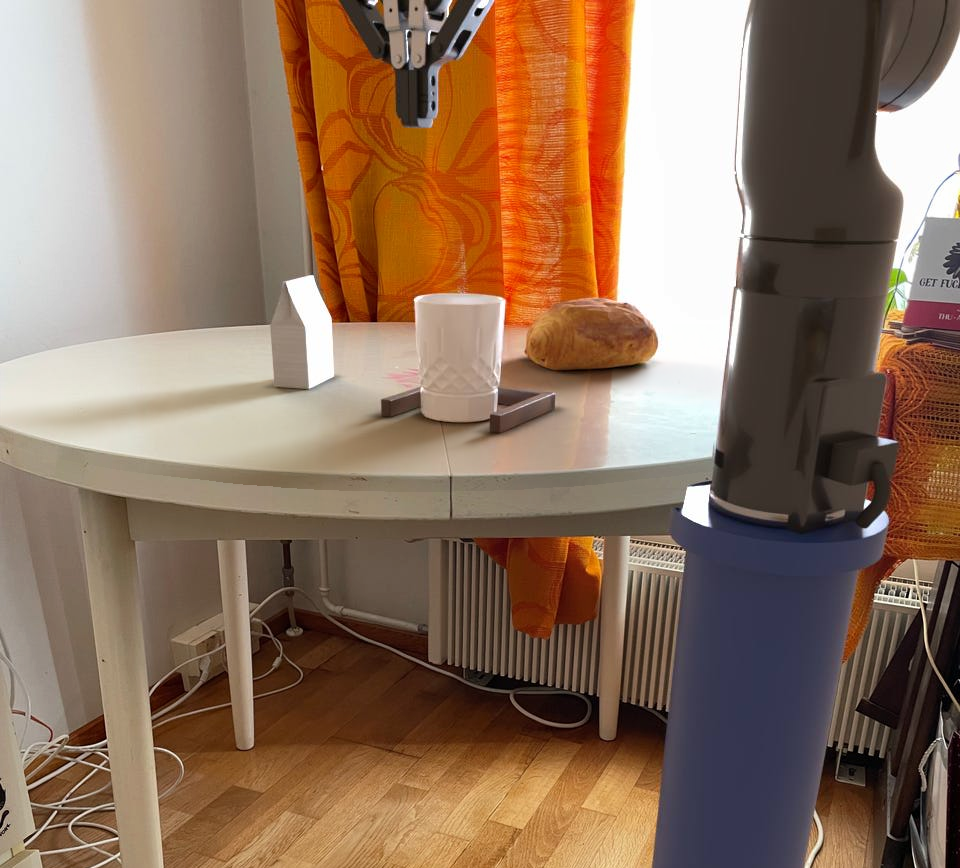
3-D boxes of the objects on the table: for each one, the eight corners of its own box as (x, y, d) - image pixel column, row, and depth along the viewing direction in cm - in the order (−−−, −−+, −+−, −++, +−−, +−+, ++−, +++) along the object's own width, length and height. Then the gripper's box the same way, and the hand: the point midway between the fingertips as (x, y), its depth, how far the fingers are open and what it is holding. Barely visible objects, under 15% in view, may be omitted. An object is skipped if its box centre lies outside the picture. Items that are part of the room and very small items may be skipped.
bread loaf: (670, 388, 115) (687, 315, 112) (545, 375, 109) (559, 297, 106) (613, 362, 127) (627, 295, 124) (497, 349, 121) (509, 279, 118)
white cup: (494, 427, 88) (496, 306, 84) (405, 421, 89) (403, 302, 85) (509, 407, 95) (512, 295, 91) (426, 402, 96) (426, 291, 92)
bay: (499, 433, 86) (500, 415, 85) (381, 415, 91) (380, 399, 91) (554, 409, 95) (555, 392, 94) (443, 394, 100) (443, 378, 99)
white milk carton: (333, 376, 107) (329, 276, 103) (308, 389, 101) (303, 282, 97) (301, 374, 108) (295, 274, 104) (274, 386, 102) (267, 281, 98)
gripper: (301, -161, 69) (315, 125, 76) (472, -187, 63) (469, 125, 71) (365, -135, 75) (372, 129, 82) (526, -156, 69) (518, 129, 77)
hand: (417, 127), depth 77 cm, fingers closed
